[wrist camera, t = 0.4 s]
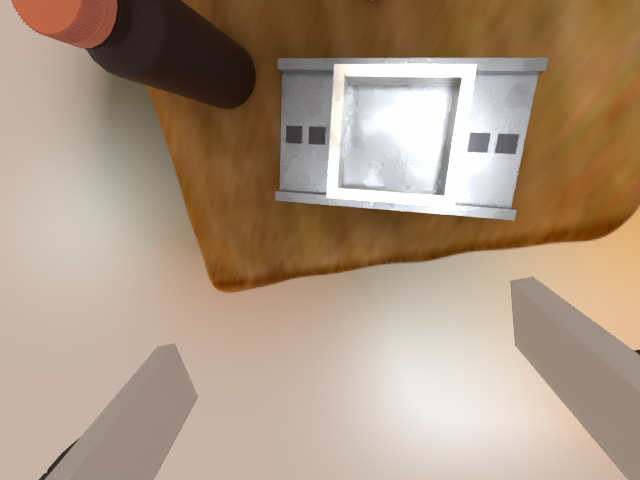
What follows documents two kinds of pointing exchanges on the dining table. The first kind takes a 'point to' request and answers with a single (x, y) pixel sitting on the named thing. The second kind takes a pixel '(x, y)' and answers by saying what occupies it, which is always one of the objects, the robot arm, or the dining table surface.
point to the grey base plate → (406, 132)
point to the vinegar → (150, 45)
